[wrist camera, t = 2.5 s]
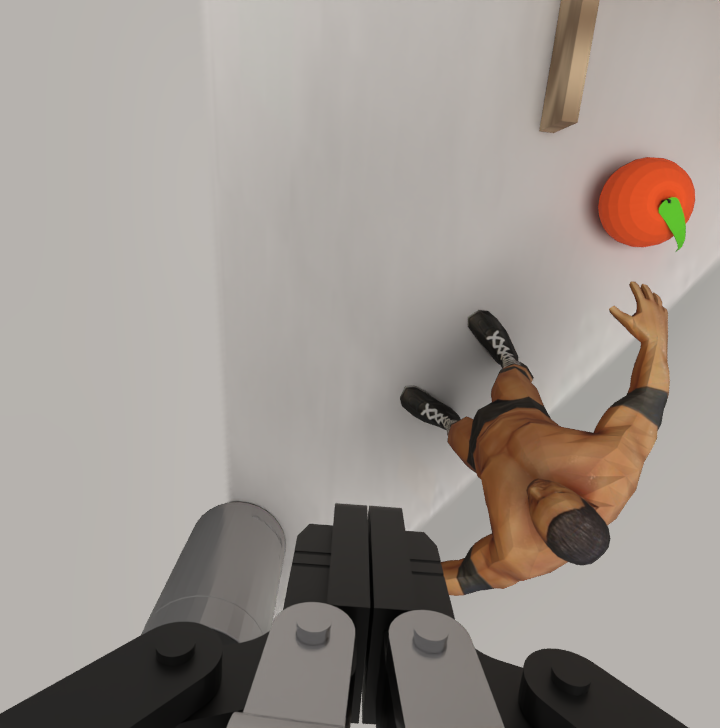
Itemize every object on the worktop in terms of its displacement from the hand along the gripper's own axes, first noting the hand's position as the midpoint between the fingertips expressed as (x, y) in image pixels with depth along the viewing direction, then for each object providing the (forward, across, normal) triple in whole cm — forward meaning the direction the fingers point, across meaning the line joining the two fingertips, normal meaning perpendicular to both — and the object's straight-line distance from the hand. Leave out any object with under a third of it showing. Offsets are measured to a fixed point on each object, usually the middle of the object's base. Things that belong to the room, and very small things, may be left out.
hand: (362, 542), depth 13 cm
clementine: (+40, -22, -10) cm, 46 cm away
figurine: (+39, -10, +5) cm, 41 cm away
